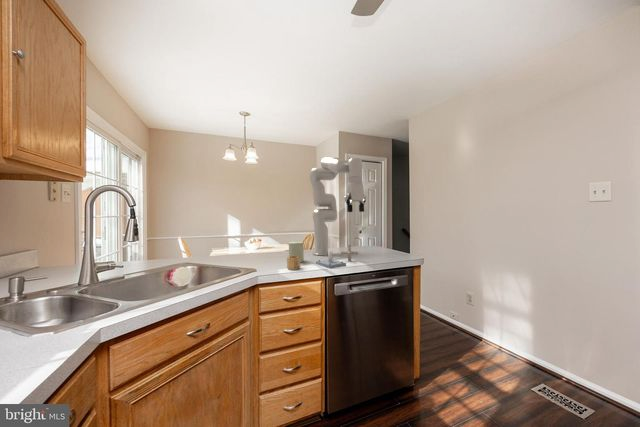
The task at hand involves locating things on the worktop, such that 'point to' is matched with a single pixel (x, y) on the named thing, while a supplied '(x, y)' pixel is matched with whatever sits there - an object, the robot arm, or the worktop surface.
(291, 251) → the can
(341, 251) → the pipe connector
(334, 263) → the shaft stand
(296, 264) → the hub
